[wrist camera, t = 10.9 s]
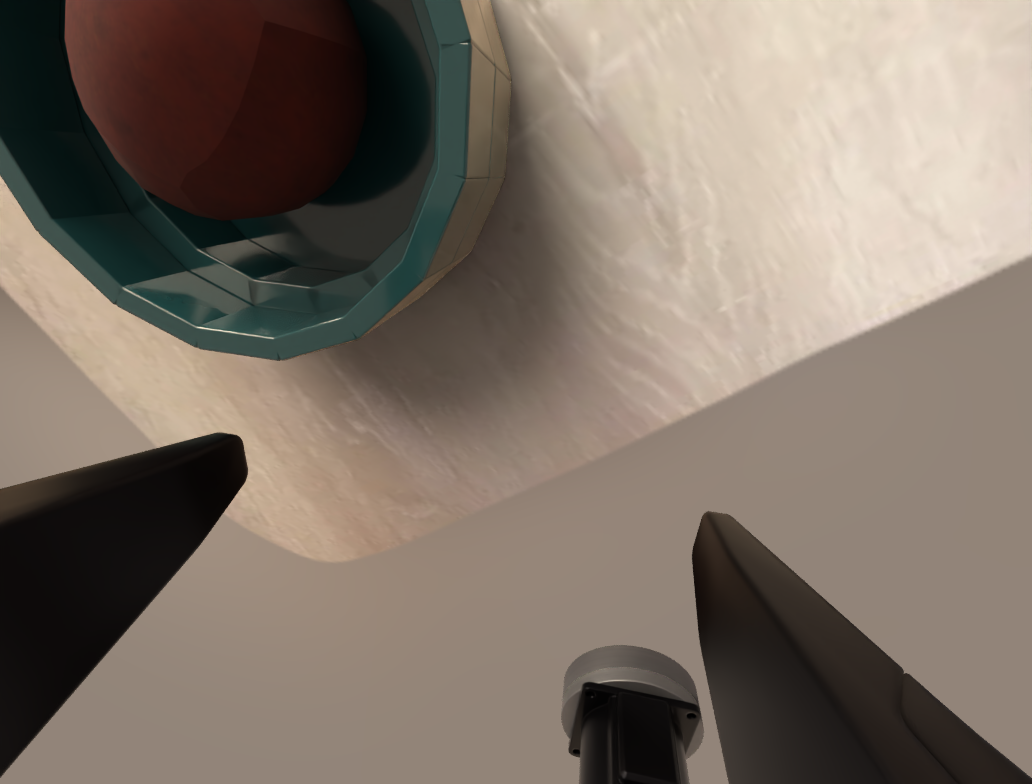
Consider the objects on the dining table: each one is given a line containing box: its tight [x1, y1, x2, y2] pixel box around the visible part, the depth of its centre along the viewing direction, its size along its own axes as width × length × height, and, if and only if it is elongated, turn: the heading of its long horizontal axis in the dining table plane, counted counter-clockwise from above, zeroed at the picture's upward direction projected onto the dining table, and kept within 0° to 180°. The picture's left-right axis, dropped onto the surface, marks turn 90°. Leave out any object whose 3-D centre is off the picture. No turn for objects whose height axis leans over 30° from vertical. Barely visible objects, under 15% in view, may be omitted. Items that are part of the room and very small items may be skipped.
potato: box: [65, 0, 367, 221], centre depth 14 cm, size 7×8×7 cm
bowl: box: [0, 0, 511, 361], centre depth 15 cm, size 15×15×6 cm
